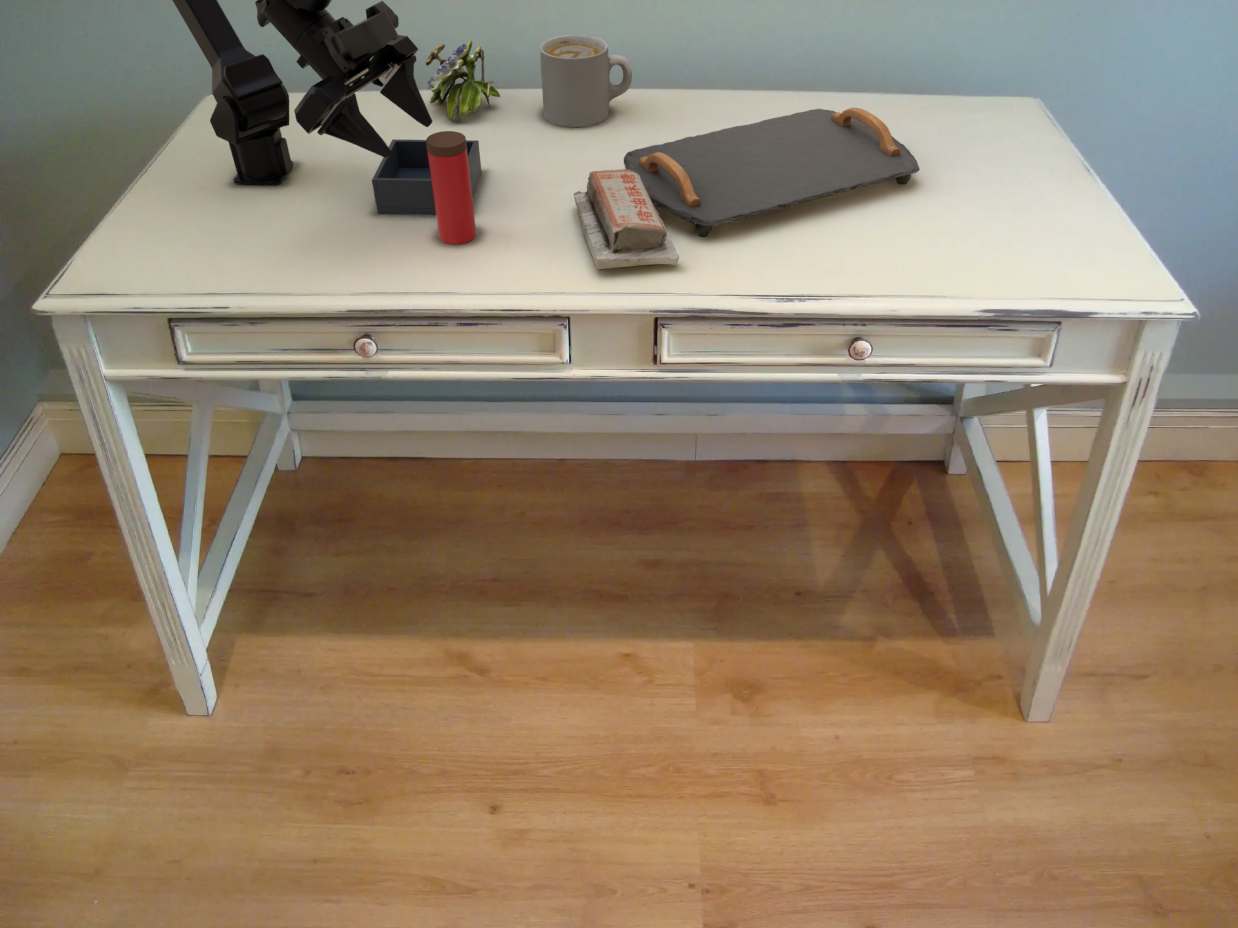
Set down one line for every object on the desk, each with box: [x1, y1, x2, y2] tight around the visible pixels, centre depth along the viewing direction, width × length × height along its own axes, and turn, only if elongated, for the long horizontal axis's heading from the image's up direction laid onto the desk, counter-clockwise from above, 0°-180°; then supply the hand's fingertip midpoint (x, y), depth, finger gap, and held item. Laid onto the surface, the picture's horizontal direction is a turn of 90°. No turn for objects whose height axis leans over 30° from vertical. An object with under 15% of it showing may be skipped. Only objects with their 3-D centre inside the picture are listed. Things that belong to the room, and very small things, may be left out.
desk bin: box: [371, 138, 482, 215], centre depth 135 cm, size 12×12×5 cm
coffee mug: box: [539, 34, 633, 128], centre depth 152 cm, size 13×10×10 cm
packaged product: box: [573, 168, 680, 270], centre depth 125 cm, size 18×5×10 cm
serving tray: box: [623, 107, 920, 238], centre depth 136 cm, size 39×23×6 cm, turn 117°
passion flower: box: [425, 40, 501, 123], centre depth 155 cm, size 11×11×12 cm
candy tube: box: [425, 130, 477, 245], centre depth 123 cm, size 5×5×12 cm
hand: (410, 139), depth 121 cm, fingers open, 9 cm apart
